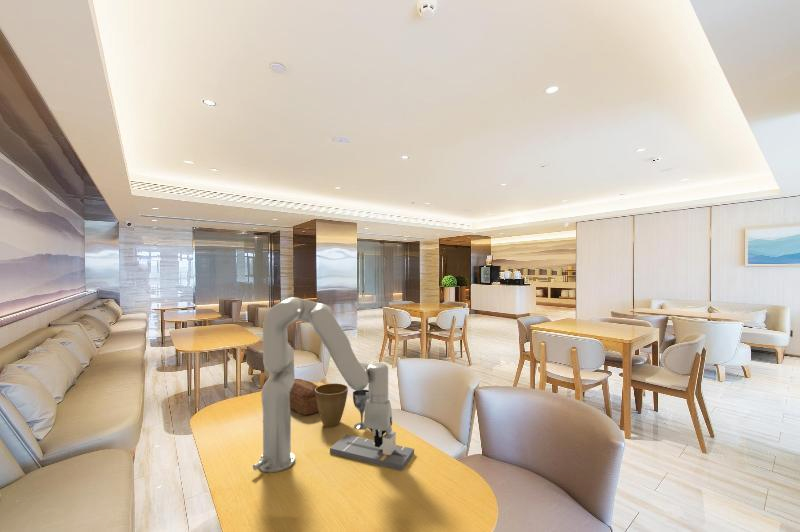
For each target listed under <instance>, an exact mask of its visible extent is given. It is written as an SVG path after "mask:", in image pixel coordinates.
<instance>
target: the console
mask: <svg viewBox="0 0 800 532" xmlns="http://www.w3.org/2000/svg"><path fill="white" fill-rule="evenodd" d="M329 454H331V455H335V456H339V457H344V458H347V459H352V460H356V461H359V462H363V463H364V462H365V463H368V464H372V465H375V466H380V467H385V468H388V469H392V470H396V471H400V472H402V471H403V470H404V469H405V467H406V466H407V465H408V464H409V462H410V461H411V459H412V458H413V456H414V455H415V448H413V447H407V446H403V445H397V444H396V449H395V450H394V452H393V453H392V454H391V455H386V454H383V444H382V445H381V446H380V447H375V443H374V439H370V438H366V437H360V436H358V435H357V436H356V435H351V434H345V435H344V436H342V437H341V438H340V439H339V440H338V441H336V442H335V443H334V444H333V445H331V446H330V447H329Z"/></svg>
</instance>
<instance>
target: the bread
mask: <svg viewBox="0 0 800 532" xmlns="http://www.w3.org/2000/svg"><path fill="white" fill-rule="evenodd" d="M318 386H319V385H318V384H315V383H314V382H311V381H308V380H305V379H300V378H294V385H293V387H292V389H291V392H290V410H291V409H292V410H294V411H295V412H297V413H299V414H300V415H302V416H303V415H304V416H308V415H312V414H313V415H314V414H316V413H319V410H318V406H317V401H316V395H315V389H316V388H317V387H318Z"/></svg>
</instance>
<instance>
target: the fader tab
mask: <svg viewBox="0 0 800 532" xmlns="http://www.w3.org/2000/svg"><path fill="white" fill-rule="evenodd" d="M396 434H397V433H396V431H393V430H392V431H391V432H390V433H385V434H383V454H386V455H391V454H392V453H393V452H394V450H395V449H396V445H397V444H396V443H397V442H396V437H397V436H396Z"/></svg>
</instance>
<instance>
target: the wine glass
mask: <svg viewBox="0 0 800 532" xmlns="http://www.w3.org/2000/svg"><path fill="white" fill-rule="evenodd" d="M366 392H369V389H365V388H364V389H363V390H359V391H358V390H354V391H353V392H352V402H353V405H354V408H356V409H357V411H358V412H359V415H360V422H356V423H355V424H354V425H353V427H354V428H353V429H356V430H360V431H361V430H367V428H366V427H365V425H364V414H365V406H366V401H367V400H368V396H366Z"/></svg>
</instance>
